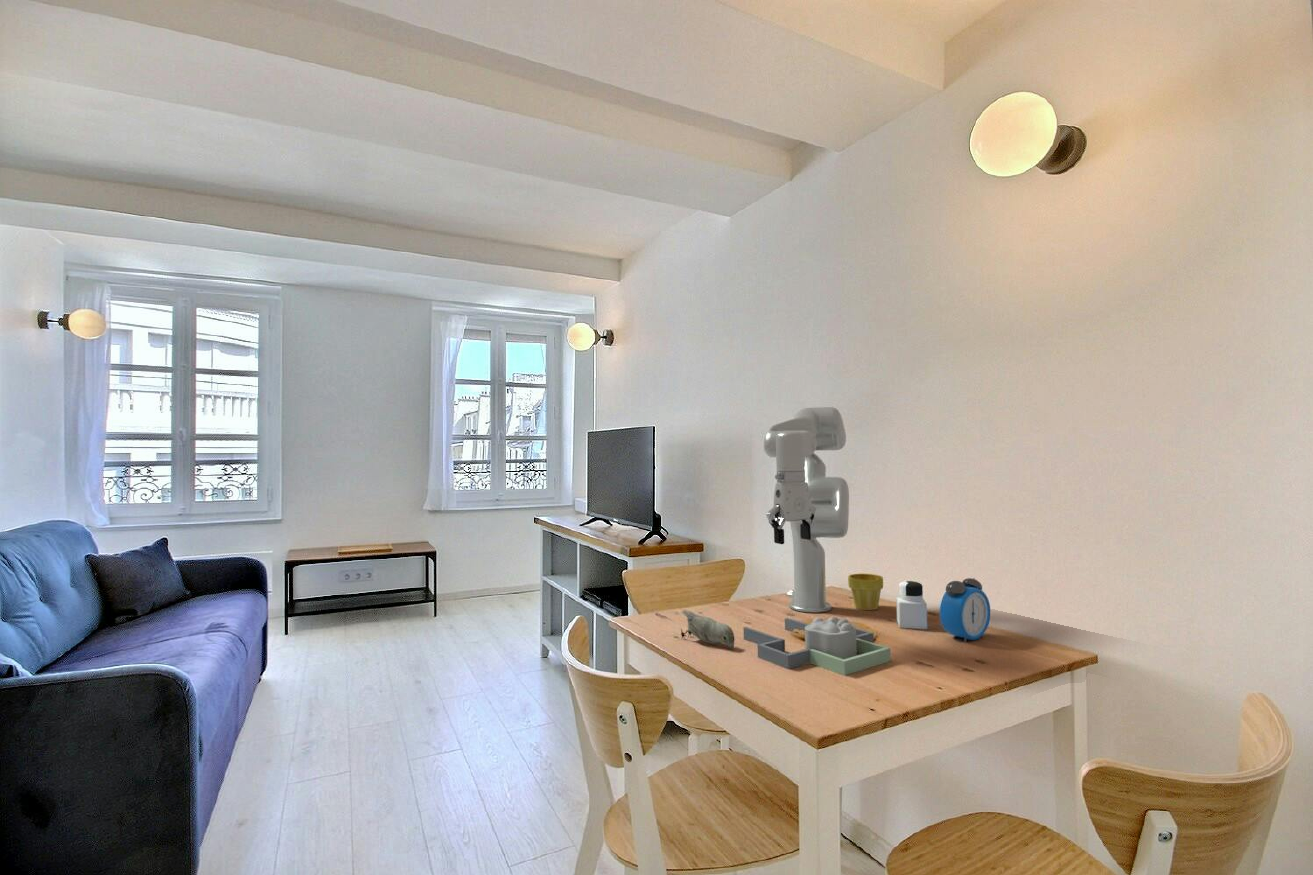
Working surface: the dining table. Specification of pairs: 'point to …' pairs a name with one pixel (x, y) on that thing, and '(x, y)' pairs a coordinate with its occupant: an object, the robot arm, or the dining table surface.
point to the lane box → (775, 651)
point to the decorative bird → (708, 630)
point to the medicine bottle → (911, 606)
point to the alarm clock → (965, 609)
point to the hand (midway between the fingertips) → (792, 541)
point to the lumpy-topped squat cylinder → (832, 637)
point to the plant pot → (865, 590)
